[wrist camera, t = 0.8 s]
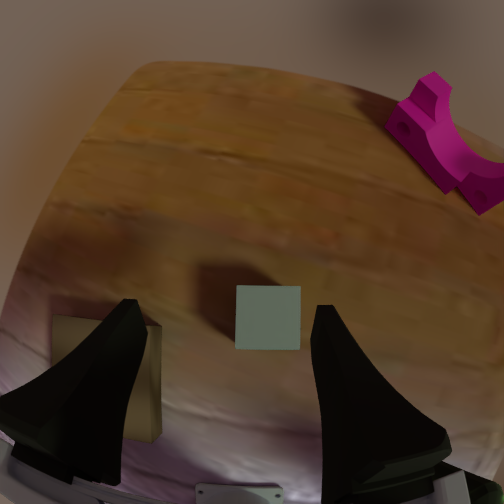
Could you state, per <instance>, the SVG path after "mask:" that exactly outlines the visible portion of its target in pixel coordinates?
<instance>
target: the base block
mask: <svg viewBox="0 0 504 504" xmlns="http://www.w3.org/2000/svg"><path fill="white" fill-rule="evenodd" d="M102 321H103V320H95V319H87V318H80V317H73V316H65V315H57V314H53V321H52V367H53V366H54V365H55V364H57V363H58V362H59V361H60V360H62V359H63V358H64V357H65V356H67V355H68V354H69V353H70V352H71V351H72V350H74V349H75V348H76V347H77V346H78V345H79V344H80V343H81V342H82V341H83V340H84V339H85V338H86V337H87V336H88V335H89V334H90V333H91V332H92V331H93V330H94V329H95V328H96V327H97V326H98V325H99V324H100V323H101V322H102ZM146 328H147V331H148V336H147V342H146V347H145V351H144V356H143V359H142V362H141V365H140V368H139V371H138V374H137V377H136V380H135V383H134V386H133V389H132V392H131V395H130V399H129V403H128V407H127V413H126V418H125V425H124V432H123V438H126V439H131V440H136V441H141V442H146V443H151V444H152V443H153V442H154V441H155V440H156V439H157V438H158V436H159V435H160V434H161V433H162V414H161V339H162V326H152V325H146Z"/></svg>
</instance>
